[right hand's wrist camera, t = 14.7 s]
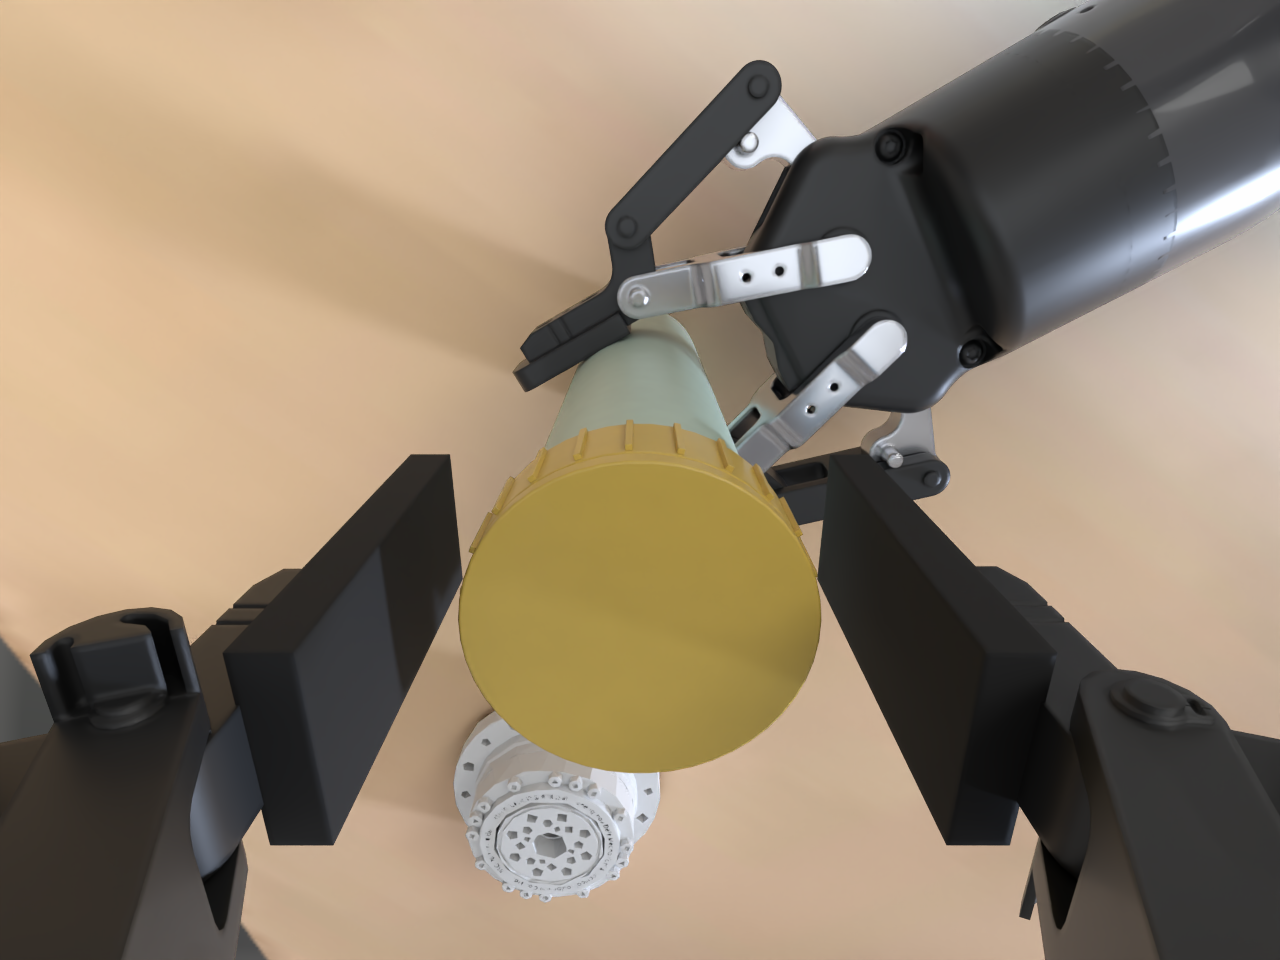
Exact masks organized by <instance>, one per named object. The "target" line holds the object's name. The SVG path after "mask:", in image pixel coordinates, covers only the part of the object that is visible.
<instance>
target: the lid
mask: <svg viewBox="0 0 1280 960" xmlns="http://www.w3.org/2000/svg"><path fill="white" fill-rule="evenodd" d="M492 513H493V514H492ZM492 513H489V512H488V514H487V516H486V517H485V519H484V521H483V523H482V525H481V527H480V529H479V531H478V533H477V535H476V537H475V539H474V541H473V543H472V545H471V547H470V550H469V552H470V553H473V555H472V557H471V560H470V562H469V565H468V568H467V570H466V573H465V576H464V578H463V583H462V586H461V588H460V598H459V615H458V622H459V632H460V641H461V645H462V648H463V652H464V656H465V660H466V663H467V665H468V667H469V670H470V672H471V675H472V677H473V679H474V681H475V683H476V684H477V686H478V688H479V689H480V691H481V693H482V695H483V696H484V698H485V699H486V700H487V701H488V703H489V704H490V705H491V707H492V708H493V709H494V710H495V712H496V713H497V714H498V715H499V716H500V717H501V718H502V719H503V720H504V721H505V722H506V723H507V724H508V725H509V726H510V727H511V728H513V729H514V730H515V731H517V732H518V733H519V734H521V735H522V736H523V737H524V738H526V739H527V740H529V741H530V742H532V743H534V744H535V745H537V746H539V747H540V748H542V749H544V750H545V751H547V752H549V753H552V754H554V755H556V756H558V757H561V758H563V759H565V760H568V761H571V762H574V763H577V764H580V765H583V766H586V767H591V768H596V769H600V770H605V771H613V772H622V773H657V772H667V771H674V770H679V769H684V768H689V767H693V766H696V765H700V764H703V763H706V762H709V761H712V760H715V759H717V758H719V757H721V756H724V755H726V754H728V753H730V752H733V751H734V750H736V749H738V748H739V747H741V746H743V745H744V744H746V743H748V742H750V741H751V740H752V739H754V738H755V737H756V736H758V735H759V734H760V733H762V732H763V731H764V730H766V729H767V728H768V727H769V726H770V725H771V724H772V723H773V722H774V721H775V720H776V719H777V718H778V717H780V716H781V715H782V714H783V712H784V711H785V710H786V709H787V707H788V706H789V705H790V704H791V702H792V701H793V700H794V699H795V697H796V695H797V694H798V692H799V690H800V689H801V687H802V685H803V684H804V682H805V680H806V678H807V676H808V673H809V671H810V669H811V666H812V664H813V662H814V658H815V654H816V651H817V647H818V643H819V636H820V627H821V604H820V596H819V591H818V586H817V581H816V578H815V577H818V576H817V571H816V569H815V567H814V565H813V563H812V561H811V559H810V557H809V555H808V553H807V551H806V549H805V546H804V544H803V542H802V540H801V538H800V536H801V535H803V534H802V532H801V530H800V528H799V526H798V524H797V522H796V520H795V518H794V516H793V514H792V512H791V510H790V508H789V506H788V504H787V502H786V500H785V498H784V497H782V498H780V499H779V498H778V497H777V495H776V493H775V492H774V490H773V489H772V488H771V486H770V485H769V484H768V482H767V480H766V478H765V476H764V474H763V471H762V469H761V467H760V466H759V465H758V464H757V463H756V464H755V465H754V466H752V465H751V464H750V463H748V462H747V461H746V460H744V459H743V458H742V457H741V456H739V455H738V454H737V453H735V452H734V451H732V450H731V449H729V448H727V446H726V443H725V441H724V440H723V439H721V438H718V440H717V441H715V440H712V439H710V438H707V437H705V436H703V435H700V434H698V433H695V432H692V431H688V430H684V429H681V424H679V423H674V425H673V427H672V426H664V425H656V424H634V423H633V419H632V420H626V424H624V425H616V426H607V427H603V428H600V429H596V430H592V431H587V428H583V429H580V431H579V435H577V436H575V437H572V438H570V439H567V440H565V441H563V442H561V443H560V444H558V445H556V446H554V447H552V448H551V449H549V450H546V449H545V448H544V447H543V448H542V449H540V450H539V452H538V454H537V456H536V459H535V460H534V461H532V462H531V463H530V464H529V465H528V466H527V467H526V468H525V469H524V470H523V471H522V472H521V473H520V474H519V475H518V476H517V477H516V478H515V479H514V478H512V477H510V478H509V479H508V480H507V482H506V484H505V486H504V488H503V490H502V492H501V494H500V496H499V498H498V500H497V502H496V504H495V506H494V508H493V510H492Z"/></svg>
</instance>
